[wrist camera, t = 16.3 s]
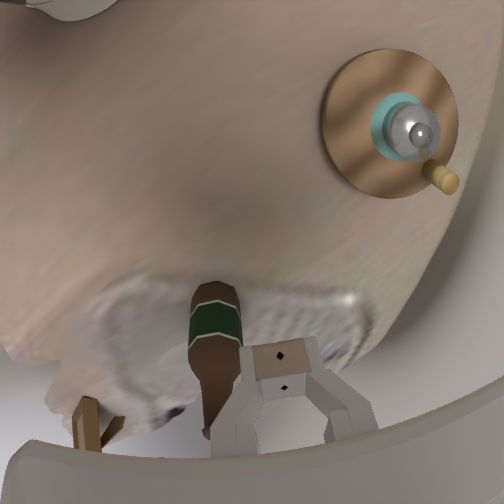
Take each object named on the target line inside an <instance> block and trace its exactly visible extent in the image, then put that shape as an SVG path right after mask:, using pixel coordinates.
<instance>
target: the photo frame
mask: <svg viewBox="0 0 504 504" xmlns="http://www.w3.org/2000/svg"><path fill="white" fill-rule="evenodd" d="M124 420H125V416H121V417H114V418H113V419H112V421H111V423H110V424H109V426H108V427H107V429H106V430H105V432H104V433H103V435H102V436H101V438H100V431H99V420H98V408H97V400H96V399H90V398H84V397H83V398H82V399H81V401H80V403H79V405H78V407H77V408H76V410H75V412H74V414H73V416H72V429H73V441H74V448H75V449H81V450H86V451H93V452H100V453H102V448H103V447H104V446H105V445H106V444H107V443H108V442H109V441H110V440H111V439H112V438H113V437H114V436H115V435H116V434H117V433H118V432H119V431H120V430H121V429H122V428H123V424H124Z"/></svg>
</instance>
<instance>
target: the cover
mask: <svg viewBox="0 0 504 504" xmlns="http://www.w3.org/2000/svg"><path fill="white" fill-rule="evenodd" d="M382 131H383V137H384V140H385V142H386V144H387V145H388V147H389V148H390V149H391V150H393V151H394V152H396V153H397V154H399V155H400V156H402V157H403V158H405V159H406V160H408V161H411V162H421V161H424V160H426V159H428V158H429V157H430V156H432V154H433V153H434V152H435V151H436V149H437V147H438V145H439V142H440V137H441V128H440V123H439V121H438V118H437V117H436V115H435V114H434V113H433V112H432V111H431V110H430V109H428V108H426V107H423V106H421V105H418V104H415V103H412V102H406V101H404V102H399V103H397V104H395V105H393V106H392V107H391V108H390V109H389V110H388V112H387V113H386V115H385V117H384V120H383V126H382Z"/></svg>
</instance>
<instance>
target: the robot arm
mask: <svg viewBox="0 0 504 504" xmlns="http://www.w3.org/2000/svg"><path fill="white" fill-rule="evenodd" d="M116 1H117V0H0V2H3V3H10V4H19V5H25V6H28V7H31V8H38V9H40V10H42V11H44V12H45V13H47V14H48V15H50V16H51V17H53V18H55V19H58V20H61V21H77V20H82V19H86V18H89V17H91V16H94V15H96V14H98V13H100V12H102V11H103V10H105V9H107V8H108V7H110V6H111V5H112V4H114V3H115V2H116ZM239 355H240V368H241V380H242V383H238V384H237V386H236V387H235V389H234V390H233V392H232V394H231V395H230V397H229V398H228V400H227V402H226V403H225V405H224V406H223V408H222V410H221V411H220V413H219V414H218V416H217V417H216V419H215V421H214V422H213V424H212V425H211V427H210V442H211V458H152V457H151V458H150V457H136V456H124V455H114V454H107V453H100V452H93V451H86V450H81V449H75V448H70V447H64V446H60V445H55V444H51V443H46V442H42V441H39V440H29V441H28V442H26V443H25V444H24V445H23V446H22V447H21V448H20V449H18V451H17V452H16V453H15V454H14V455H13V456H12V457H11V458H10V460H9V463H8V466H7V469H6V472H5V476H4V481H3V487H2V494H1V501H0V504H504V376H502V377H500V378H498V379H497V380H495V381H493V382H491V383H489V384H487V385H486V386H484V387H482V388H480V389H478V390H476V391H474V392H472V393H470V394H468V395H466V396H464V397H462V398H460V399H458V400H455V401H453V402H451V403H449V404H446V405H444V406H442V407H439V408H437V409H435V410H432V411H430V412H427V413H425V414H422V415H419V416H417V417H414V418H412V419H409V420H406V421H403V422H400V423H397V424H395V425H392V426H388V427H385V428H382V429H378V425H377V422H376V419H375V416H374V413H373V410H372V407H371V404H370V401H368V400H367V399H366V398H364V397H363V396H362V395H361V394H360V393H358V392H357V391H356V390H354V389H353V388H352V387H351V386H349V385H348V384H347V383H346V382H344V381H343V380H342V379H341V378H340V377H338V376H337V375H336V374H335V373H333V372H332V371H331V370H330V369H325V367H324V364H323V360H322V357H321V353H320V350H319V346H318V343H317V340H316V337H315V336H311V337H305V338H298V339H292V340H286V341H281V342H277V343H269V344H261V345H253V346H245V347H240V348H239ZM302 395H306V397H307V398H308V399H309V400H310V401H311V402H312V403H313V404H314V405H315V406H316V407H317V408H318V409H319V410H320V411H321V412H322V413H323V414H324V415H325V416H326V417H327V418H328V423H327V426H326V429H325V432H324V440H325V444H320V445H315V446H310V447H305V448H299V449H294V450H288V451H281V452H273V453H266V454H261V449H260V444H259V441H258V438H257V434H256V431H255V428H254V427H253V425H254V423H255V421H256V419H257V417H258V415H259V413H260V411H261V409H262V407H263V405H264V401H270V400H276V399H282V398H289V397H295V396H302Z"/></svg>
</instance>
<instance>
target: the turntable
mask: <svg viewBox="0 0 504 504" xmlns="http://www.w3.org/2000/svg"><path fill="white" fill-rule="evenodd" d="M404 101H406V102H412V103H415V104H418V105H421V106H423V107H426V108H428V109H430V110H431V111H432V112H433V113H434V114H435V115H436V117H437V118H438V121H439V123H440V128H441V137H440V142H439V145H438V147H437V149H436V151H435V152H434V153H433V154H432V156H430V157H429V158H428V159H426V160H424V161H421V162H411V161H408V160H406V159H405V158H403V157H402V156H400V155H399V154H397V153H396V152H394V151H393V150H391V149H390V148H389V147H388V145H387V144H386V142H385V140H384V137H383V131H382V126H383V120H384V117H385V115H386V113H387V112H388V110H389V109H390V108H391V107H392V106H393V105H395V104H397V103H399V102H404ZM322 133H323V139H324V143H325V146H326V149H327V152H328V154H329V156H330V158H331V160H332V162H333V163H334V165H335V166H336V168H337V169H338V170H339V171H340V173H341V174H342V175H343V176H344V177H345V178H346V179H347V180H348V181H349V182H350V183H351V184H352V185H353V186H355V187H356V188H358V189H359V190H361V191H362V192H364V193H366V194H369V195H371V196H375V197H378V198H385V199H395V198H402V197H406V196H410V195H412V194H415V193H417V192H419V191H421V190H422V189H424V188H425V187H427V186H428V185H430V184H431V183H432V184H433V185H435V186H436V187H437V188H438V189H440V190H441V191H442V192H443V193H445V194H446V195H452V194H453V193H455V192H456V190H457V189H458V187H459V177H458V175H456V174H455V173H454V172H452V171H451V170H449V169H448V168H446V165H447V163H448V162H449V160H450V158H451V156H452V153H453V151H454V148H455V144H456V140H457V135H458V111H457V105H456V101H455V97H454V95H453V92H452V90H451V88H450V86H449V84H448V82H447V80H446V79H445V78H444V76H443V75H442V73H441V72H440V71H439V70H438V69H437V68H436V67H435V66H434V65H433V64H432V63H430V62H429V61H428V60H426V59H425V58H423V57H421V56H419V55H417V54H415V53H412V52H409V51H405V50H398V49H378V50H373V51H369V52H366V53H363V54H361V55H359V56H357V57H355V58H354V59H352V60H351V61H349V62H348V63H347V64H346V65H345V66H344V67H343V68H342V69H341V70H340V71H339V72H338V73H337V75H336V76H335V78H334V79H333V81H332V82H331V84H330V87H329V89H328V91H327V94H326V97H325V100H324V104H323V109H322Z"/></svg>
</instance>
